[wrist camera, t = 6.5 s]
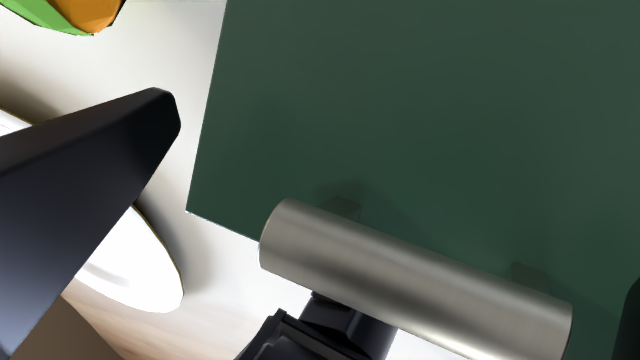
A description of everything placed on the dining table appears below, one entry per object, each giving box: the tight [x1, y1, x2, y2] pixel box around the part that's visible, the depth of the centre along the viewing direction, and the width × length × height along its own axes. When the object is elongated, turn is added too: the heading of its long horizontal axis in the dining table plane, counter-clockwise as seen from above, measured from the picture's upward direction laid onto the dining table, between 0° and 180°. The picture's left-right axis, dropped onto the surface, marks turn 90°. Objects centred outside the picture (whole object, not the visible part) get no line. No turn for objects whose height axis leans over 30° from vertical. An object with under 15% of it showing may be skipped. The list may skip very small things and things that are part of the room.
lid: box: [186, 0, 640, 360], centre depth 8 cm, size 12×12×4 cm
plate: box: [0, 107, 184, 312], centre depth 51 cm, size 29×29×2 cm
